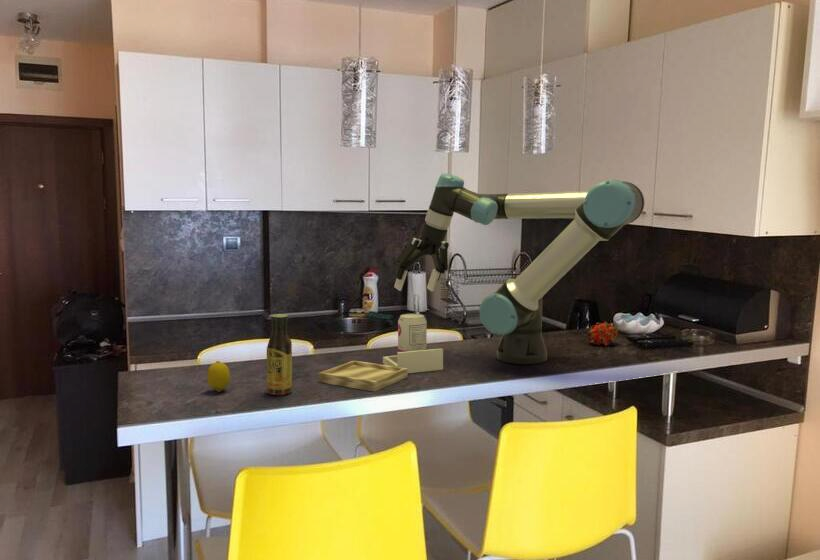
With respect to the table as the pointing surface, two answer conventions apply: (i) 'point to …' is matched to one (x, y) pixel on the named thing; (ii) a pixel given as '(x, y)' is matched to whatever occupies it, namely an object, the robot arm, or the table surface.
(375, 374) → the tray
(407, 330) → the supplement can
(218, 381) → the lemon
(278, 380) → the sauce bottle
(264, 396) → the table surface
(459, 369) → the table surface
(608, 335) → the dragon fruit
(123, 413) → the table surface
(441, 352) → the dock
